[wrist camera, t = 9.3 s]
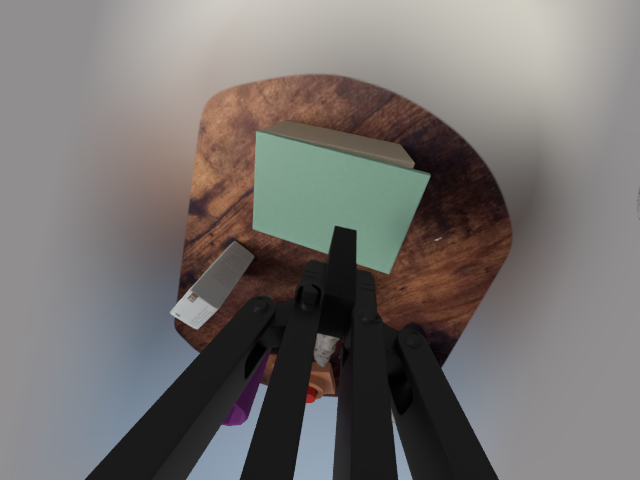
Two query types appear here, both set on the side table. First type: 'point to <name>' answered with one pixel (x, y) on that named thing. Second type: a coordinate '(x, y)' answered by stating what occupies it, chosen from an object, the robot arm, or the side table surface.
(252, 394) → the mug
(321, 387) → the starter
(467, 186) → the side table surface
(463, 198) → the side table surface
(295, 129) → the lidded tan box
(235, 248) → the cosmetic box
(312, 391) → the button
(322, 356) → the fossil
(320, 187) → the lid
